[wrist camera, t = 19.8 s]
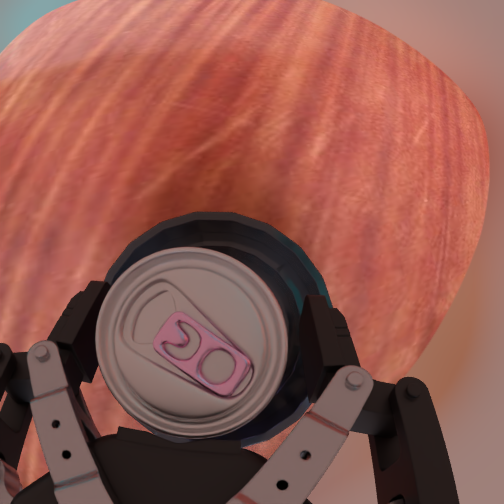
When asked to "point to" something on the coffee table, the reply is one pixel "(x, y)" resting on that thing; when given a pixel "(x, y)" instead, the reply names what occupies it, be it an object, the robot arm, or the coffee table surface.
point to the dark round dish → (271, 272)
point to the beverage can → (191, 342)
